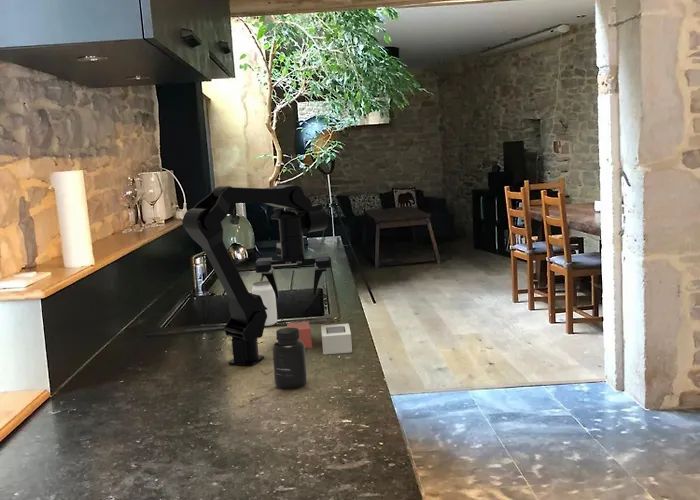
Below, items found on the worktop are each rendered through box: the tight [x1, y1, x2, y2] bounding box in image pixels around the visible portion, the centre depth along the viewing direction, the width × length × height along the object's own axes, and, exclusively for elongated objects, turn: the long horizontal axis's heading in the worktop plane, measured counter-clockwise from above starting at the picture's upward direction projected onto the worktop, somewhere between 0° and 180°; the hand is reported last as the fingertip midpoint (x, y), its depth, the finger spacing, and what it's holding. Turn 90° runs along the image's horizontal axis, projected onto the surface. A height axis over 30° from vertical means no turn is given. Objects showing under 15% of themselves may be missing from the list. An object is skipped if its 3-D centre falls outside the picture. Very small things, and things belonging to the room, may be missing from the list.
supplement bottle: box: [272, 327, 308, 391], centre depth 146 cm, size 7×7×12 cm
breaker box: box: [320, 323, 353, 356], centre depth 171 cm, size 10×7×4 cm
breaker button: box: [327, 327, 344, 334], centre depth 171 cm, size 5×4×3 cm
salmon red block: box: [286, 321, 313, 349], centre depth 175 cm, size 7×6×5 cm
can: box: [251, 280, 278, 327], centre depth 198 cm, size 6×6×12 cm
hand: (296, 296), depth 174 cm, fingers open, 9 cm apart
